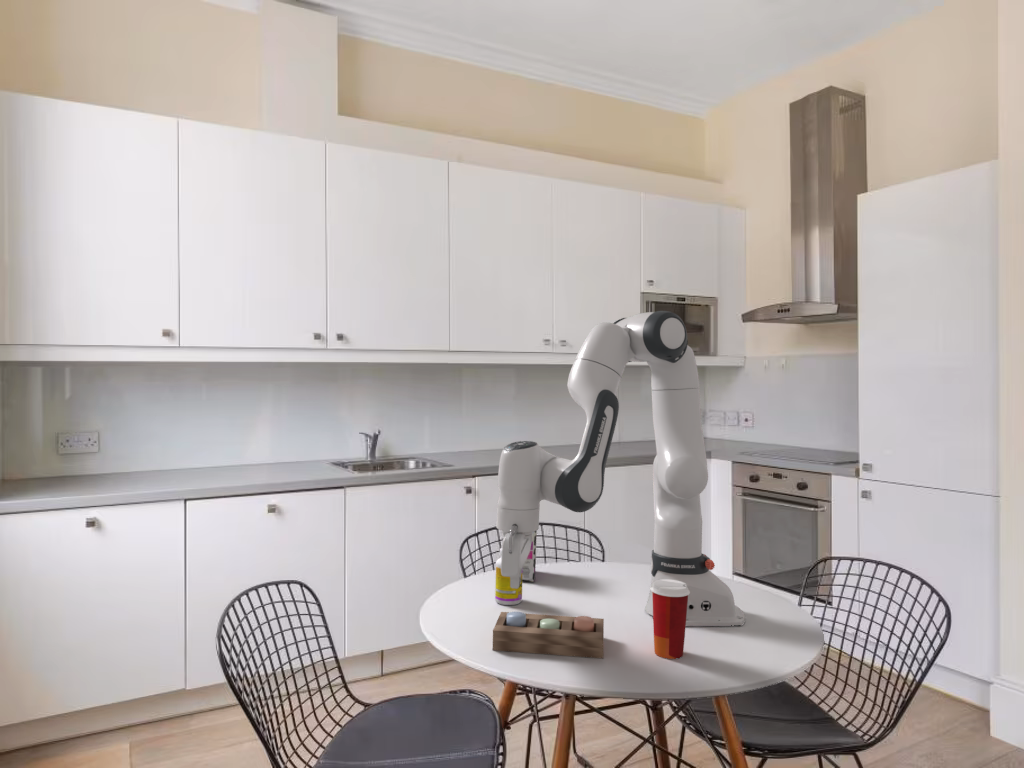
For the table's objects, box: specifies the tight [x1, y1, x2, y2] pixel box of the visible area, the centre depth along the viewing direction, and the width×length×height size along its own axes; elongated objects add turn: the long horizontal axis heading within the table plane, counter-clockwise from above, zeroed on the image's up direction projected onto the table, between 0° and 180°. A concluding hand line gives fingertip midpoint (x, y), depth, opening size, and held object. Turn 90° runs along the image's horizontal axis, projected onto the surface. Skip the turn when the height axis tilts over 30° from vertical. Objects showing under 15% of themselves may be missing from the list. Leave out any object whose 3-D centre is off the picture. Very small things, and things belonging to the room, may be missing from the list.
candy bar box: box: [522, 530, 538, 583], centre depth 189 cm, size 11×5×16 cm, turn 178°
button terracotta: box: [574, 615, 594, 632], centre depth 141 cm, size 4×4×2 cm
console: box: [492, 611, 605, 659], centre depth 142 cm, size 22×11×4 cm, turn 82°
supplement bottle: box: [494, 547, 523, 606], centre depth 168 cm, size 7×7×13 cm
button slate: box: [507, 611, 527, 627], centre depth 143 cm, size 4×4×2 cm
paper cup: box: [649, 579, 690, 660], centre depth 138 cm, size 8×8×14 cm
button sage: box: [540, 619, 560, 629], centre depth 142 cm, size 4×4×2 cm
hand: (515, 586), depth 143 cm, fingers closed
